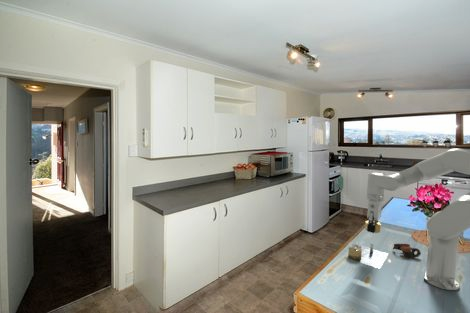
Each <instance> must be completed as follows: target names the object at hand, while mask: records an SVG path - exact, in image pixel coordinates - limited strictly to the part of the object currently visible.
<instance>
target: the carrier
mask: <svg viewBox="0 0 470 313" xmlns="http://www.w3.org/2000/svg"><path fill="white" fill-rule="evenodd" d="M374 244H375V243H373V242H370V247H368V246H363V245H361V244H359V243H353V244H351V245H352V246H350V247H348V252H347V254H346V255H345V256H344V258H346V259H349V260H352V261H354V262H358V263H361V264H364V265H365V266H369V267H372V268H375V269H378V270H380V269H381V268H382V266H383V265H384V262H385V261H386V259H387V257H388V256H389V253H387V252H384V251H381V250H377V249H374Z"/></svg>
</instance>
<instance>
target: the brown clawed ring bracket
mask: <svg viewBox="0 0 470 313" xmlns="http://www.w3.org/2000/svg"><path fill="white" fill-rule="evenodd" d="M392 250H399V251H401V252H402V253H403V254H402V255H401V254H400V255H399V257H400V258H404V259H413V258H414V259H415V258H418V257H420V256H421V254H422V253H421V250H420V249H419V248H415V247H411V244H409V243H395V244H394V243H393V247H392ZM415 252H417V253H416V254H415Z"/></svg>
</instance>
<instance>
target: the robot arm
mask: <svg viewBox="0 0 470 313" xmlns="http://www.w3.org/2000/svg"><path fill="white" fill-rule="evenodd" d="M453 172H456V173H461V174H465V175H469V176H470V151H467V150H465V149H463V148H451V149H449V150H448V149H447V150H446V151H444V152H442V153H439V154H437V155H434V156H432V157H429V158H426V159H424V160H422V161H420V162H417V163H415V164H414V165H413V166H411V167H409V168H406V169H403V170H401V171H398V172H396V173H393V174H390V175H385V173H380V172H370V173H369V174H368V176H367V188H366V190H367V191H366V199H367V200H368V202H367V203H368V205H367V212H366V213H367V214H366V215H367V216H366V217H367V219H368V220H369V221H368V220H367V221H368V229H367V232H368V233H372V234H375V233H374V232H375V221H376V222H379V220H380V218H381V217H382V205H383V204H382V202H383V201H384V198H385V197H384V196H385V190H386V191H389V192H396V191H398V190H400V189H402V188H404V187H408V186H410V185H413V184H416V183H419V182H423V181H429V180H432V179H435V178H438V177H441V176H444V175H447V174H449V173H453ZM468 229H470V190H468V191H467V192H465V193H464V194H462V195H460V196H458V197H457V198H455V199H454V200H453V201H451V203H450V204H448V205H447V206H446V207H444V208H443V209H442V210H440V211H436V212H434V213H433V214H432V215H431V216H430V218H429V219H428V220H427V222H426V231H427V232H428V233H429V238H428V245H427V246H428V249H427V259H426V270H425V272H424V277H423V280H424V281H425V282H426V283H428V284H430V285H431V286H433V287H436V288H438V289H441V290H447V291H457V290H459V288H460V283H459V282H458V281H457V280H456V273H457V272H456V270H457V260H458V259H457V258H458V251H459V242H460V234H462V233H463V232H466V231H467V230H468Z"/></svg>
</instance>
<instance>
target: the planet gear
mask: <svg viewBox="0 0 470 313" xmlns="http://www.w3.org/2000/svg"><path fill="white" fill-rule="evenodd" d="M368 221H369V219H368V220H365V221H364V223H365V224H364V229H365V231H367V229H368ZM381 228H382V224H381V222H379V221H378V222H376V221H375V232H374V233H373V234H379V233H381ZM367 232H368V231H367Z"/></svg>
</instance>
